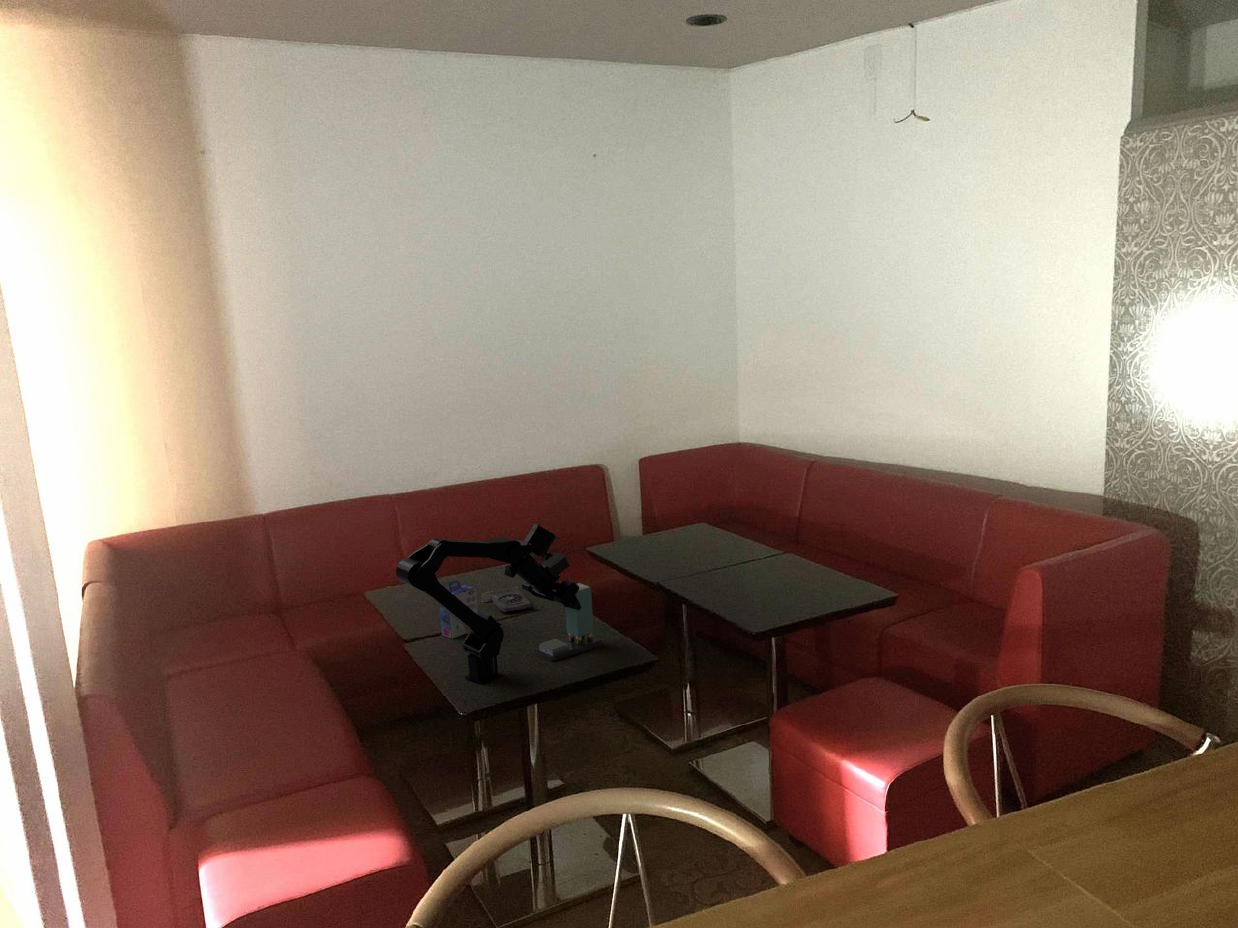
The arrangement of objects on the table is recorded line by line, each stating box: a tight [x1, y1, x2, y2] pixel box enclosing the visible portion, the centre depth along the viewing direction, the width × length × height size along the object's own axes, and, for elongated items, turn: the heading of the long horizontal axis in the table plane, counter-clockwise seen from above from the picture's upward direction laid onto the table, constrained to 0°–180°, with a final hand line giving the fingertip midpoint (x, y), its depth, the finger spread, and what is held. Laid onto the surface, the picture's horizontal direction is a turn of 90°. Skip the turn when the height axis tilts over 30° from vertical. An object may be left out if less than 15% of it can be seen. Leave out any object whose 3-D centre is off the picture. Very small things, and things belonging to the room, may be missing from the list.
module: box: [564, 582, 594, 637], centre depth 247 cm, size 5×5×12 cm
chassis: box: [533, 633, 603, 662], centre depth 246 cm, size 16×8×4 cm, turn 129°
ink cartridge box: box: [438, 579, 478, 639], centre depth 262 cm, size 10×6×14 cm, turn 137°
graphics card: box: [480, 586, 532, 613], centre depth 284 cm, size 17×4×12 cm
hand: (569, 604), depth 245 cm, fingers open, 9 cm apart
